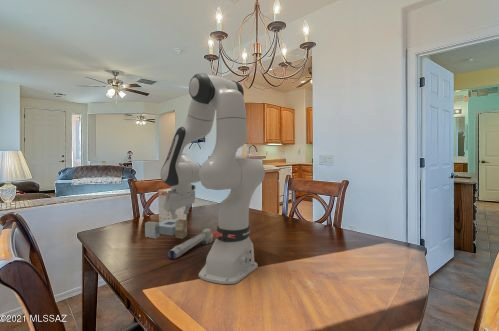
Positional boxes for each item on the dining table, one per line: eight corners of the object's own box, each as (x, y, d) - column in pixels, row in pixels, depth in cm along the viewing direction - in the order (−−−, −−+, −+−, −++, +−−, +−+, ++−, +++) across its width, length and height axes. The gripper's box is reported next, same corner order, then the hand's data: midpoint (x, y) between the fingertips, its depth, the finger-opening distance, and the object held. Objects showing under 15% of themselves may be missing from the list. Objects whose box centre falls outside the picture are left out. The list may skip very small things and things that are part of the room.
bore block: (172, 235, 132) (172, 227, 131) (152, 232, 136) (152, 225, 135) (186, 228, 143) (186, 221, 142) (167, 226, 147) (167, 219, 147)
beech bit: (182, 238, 127) (182, 222, 127) (175, 237, 129) (175, 221, 128) (186, 236, 131) (186, 220, 130) (180, 235, 132) (180, 219, 132)
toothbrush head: (165, 248, 104) (205, 224, 126) (167, 264, 105) (207, 237, 127) (175, 251, 102) (215, 226, 123) (177, 267, 103) (216, 239, 124)
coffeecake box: (179, 217, 166) (178, 186, 165) (187, 219, 162) (186, 187, 160) (158, 223, 154) (157, 189, 153) (166, 225, 150) (165, 190, 148)
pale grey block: (155, 238, 127) (155, 224, 127) (145, 237, 129) (144, 222, 129) (159, 236, 130) (159, 222, 130) (149, 235, 132) (149, 221, 132)
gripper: (172, 191, 118) (172, 222, 119) (197, 185, 137) (197, 212, 138) (160, 190, 120) (161, 221, 121) (186, 184, 139) (186, 210, 140)
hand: (180, 216), depth 130 cm, fingers open, 8 cm apart
